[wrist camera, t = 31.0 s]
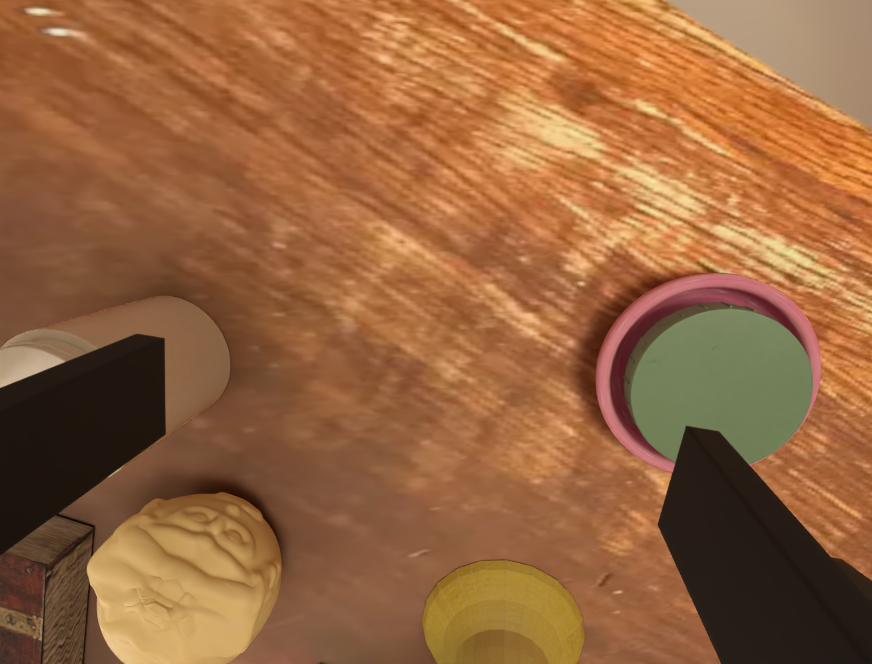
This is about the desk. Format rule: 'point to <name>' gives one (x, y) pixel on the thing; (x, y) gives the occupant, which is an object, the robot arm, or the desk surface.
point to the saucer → (665, 303)
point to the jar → (155, 316)
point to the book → (45, 595)
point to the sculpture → (186, 580)
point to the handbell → (502, 617)
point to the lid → (719, 379)
